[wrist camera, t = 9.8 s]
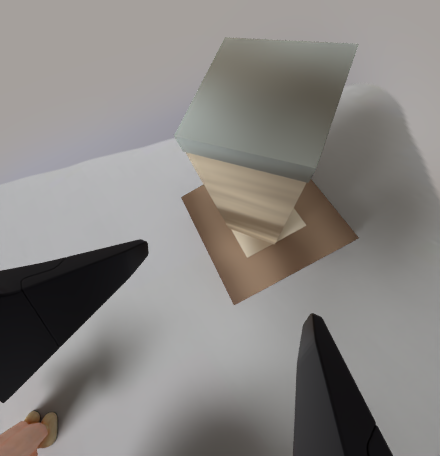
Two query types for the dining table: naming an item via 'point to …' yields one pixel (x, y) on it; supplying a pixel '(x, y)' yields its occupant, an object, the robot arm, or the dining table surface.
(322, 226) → the plinth
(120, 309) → the dining table surface
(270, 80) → the oak column
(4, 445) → the grandmother figurine
